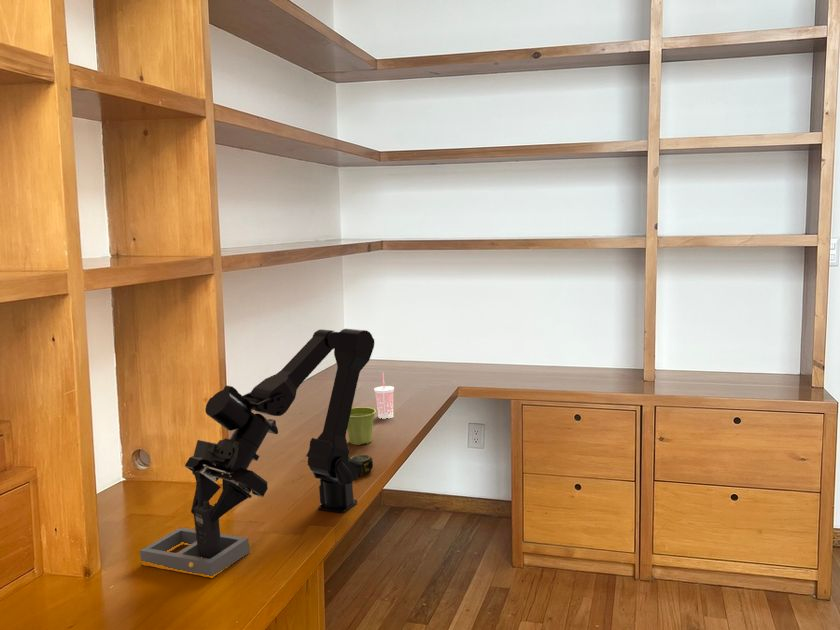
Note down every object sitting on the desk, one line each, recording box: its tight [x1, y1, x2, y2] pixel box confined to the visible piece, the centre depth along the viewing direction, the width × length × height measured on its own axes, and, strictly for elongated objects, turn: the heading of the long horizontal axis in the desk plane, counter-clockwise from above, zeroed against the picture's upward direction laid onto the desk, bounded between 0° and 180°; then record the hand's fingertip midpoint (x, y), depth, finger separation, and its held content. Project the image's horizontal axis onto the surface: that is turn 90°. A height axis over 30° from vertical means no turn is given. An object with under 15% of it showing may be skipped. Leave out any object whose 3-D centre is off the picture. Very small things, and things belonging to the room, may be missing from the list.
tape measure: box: [348, 453, 374, 476], centre depth 191 cm, size 7×7×4 cm
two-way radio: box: [193, 479, 221, 559], centre depth 145 cm, size 6×4×15 cm
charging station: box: [139, 527, 250, 576], centre depth 147 cm, size 17×11×3 cm
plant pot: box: [346, 406, 377, 446], centre depth 216 cm, size 9×9×9 cm
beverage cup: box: [373, 371, 395, 420], centre depth 240 cm, size 6×6×14 cm
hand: (202, 517), depth 144 cm, fingers closed on two-way radio, 5 cm apart
